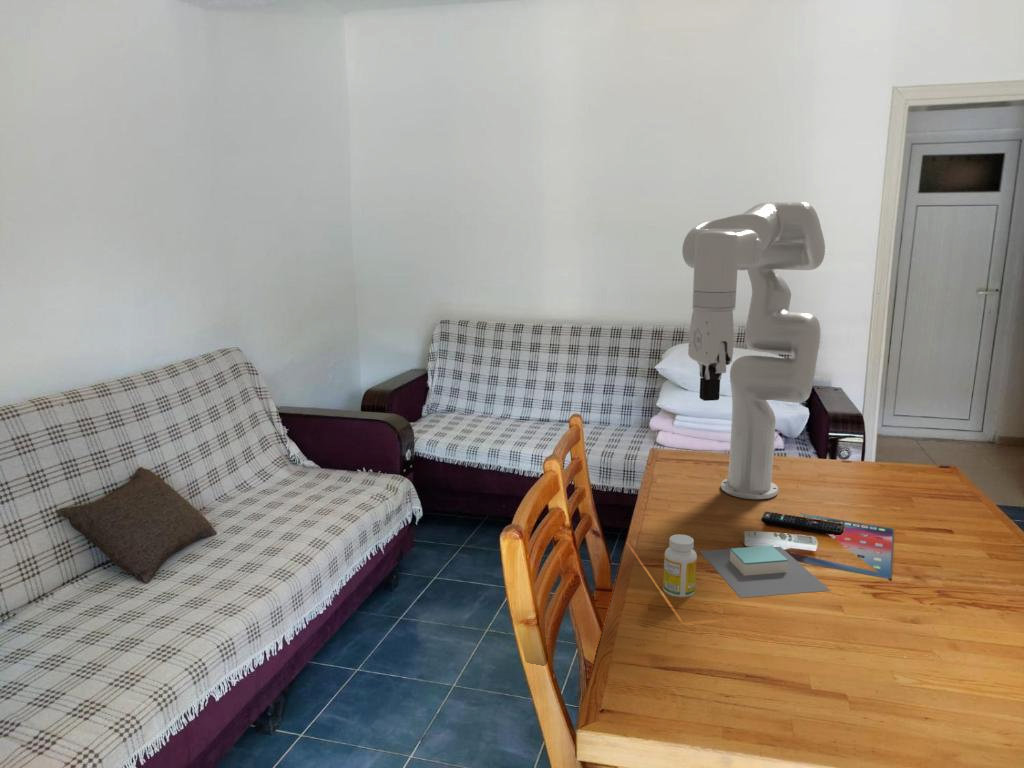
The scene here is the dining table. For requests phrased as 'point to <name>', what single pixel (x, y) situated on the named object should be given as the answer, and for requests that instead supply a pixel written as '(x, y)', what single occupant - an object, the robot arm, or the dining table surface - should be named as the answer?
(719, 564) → the mat
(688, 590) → the supplement bottle
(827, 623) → the dining table surface
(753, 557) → the tile
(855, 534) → the tablet
